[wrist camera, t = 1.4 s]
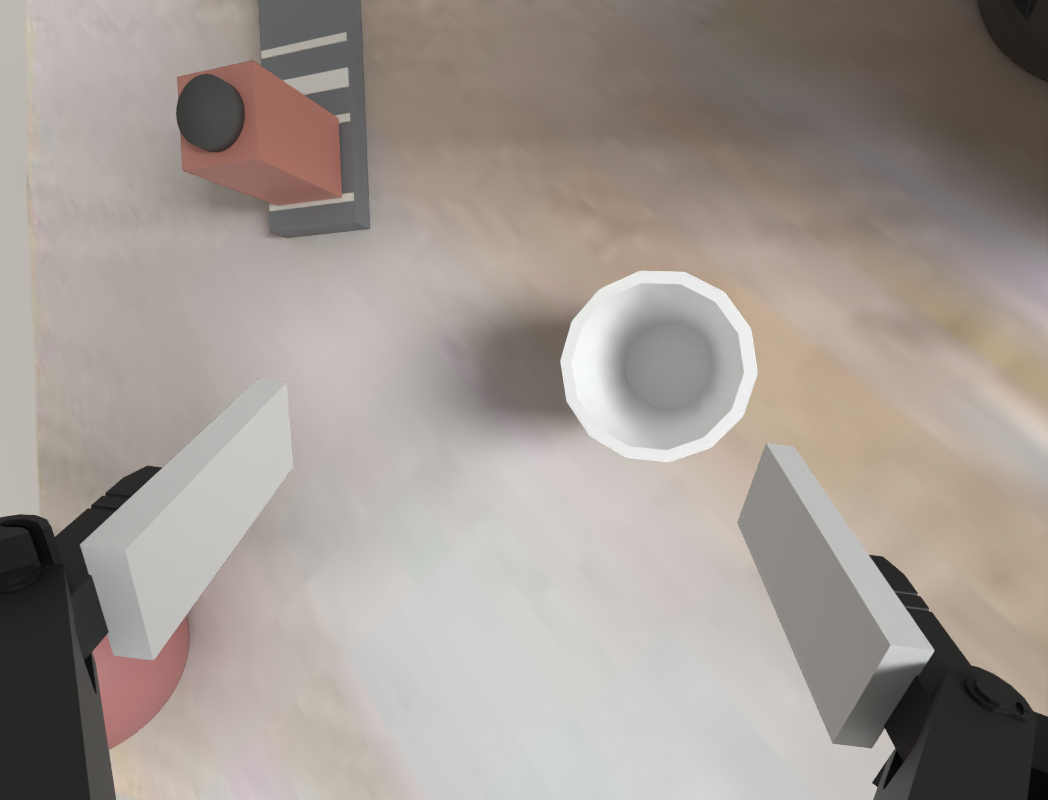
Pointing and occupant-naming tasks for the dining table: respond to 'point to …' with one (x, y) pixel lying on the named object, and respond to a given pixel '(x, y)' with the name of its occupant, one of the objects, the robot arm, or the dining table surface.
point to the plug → (258, 135)
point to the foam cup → (658, 365)
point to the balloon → (138, 684)
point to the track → (322, 100)
